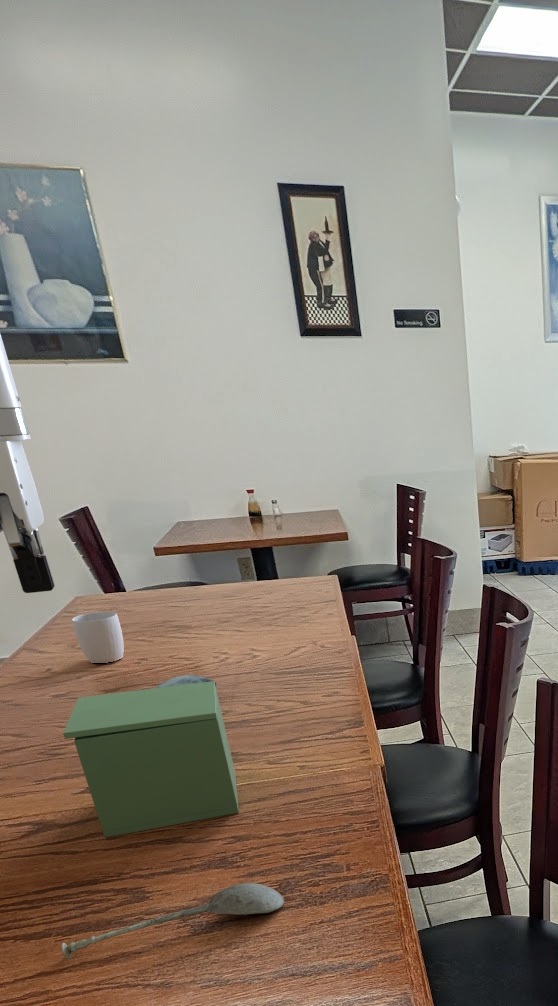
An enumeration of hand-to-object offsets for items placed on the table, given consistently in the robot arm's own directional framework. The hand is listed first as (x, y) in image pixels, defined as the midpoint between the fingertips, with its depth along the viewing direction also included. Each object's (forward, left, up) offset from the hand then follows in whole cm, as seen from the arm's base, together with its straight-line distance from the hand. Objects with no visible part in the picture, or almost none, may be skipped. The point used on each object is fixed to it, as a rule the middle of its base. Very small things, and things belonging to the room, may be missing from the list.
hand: (39, 590), depth 101 cm
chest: (+6, +6, -31) cm, 32 cm away
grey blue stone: (-27, +39, -31) cm, 57 cm away
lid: (+6, +6, -17) cm, 19 cm away
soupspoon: (+31, -17, -31) cm, 47 cm away
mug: (-68, +57, -31) cm, 94 cm away
